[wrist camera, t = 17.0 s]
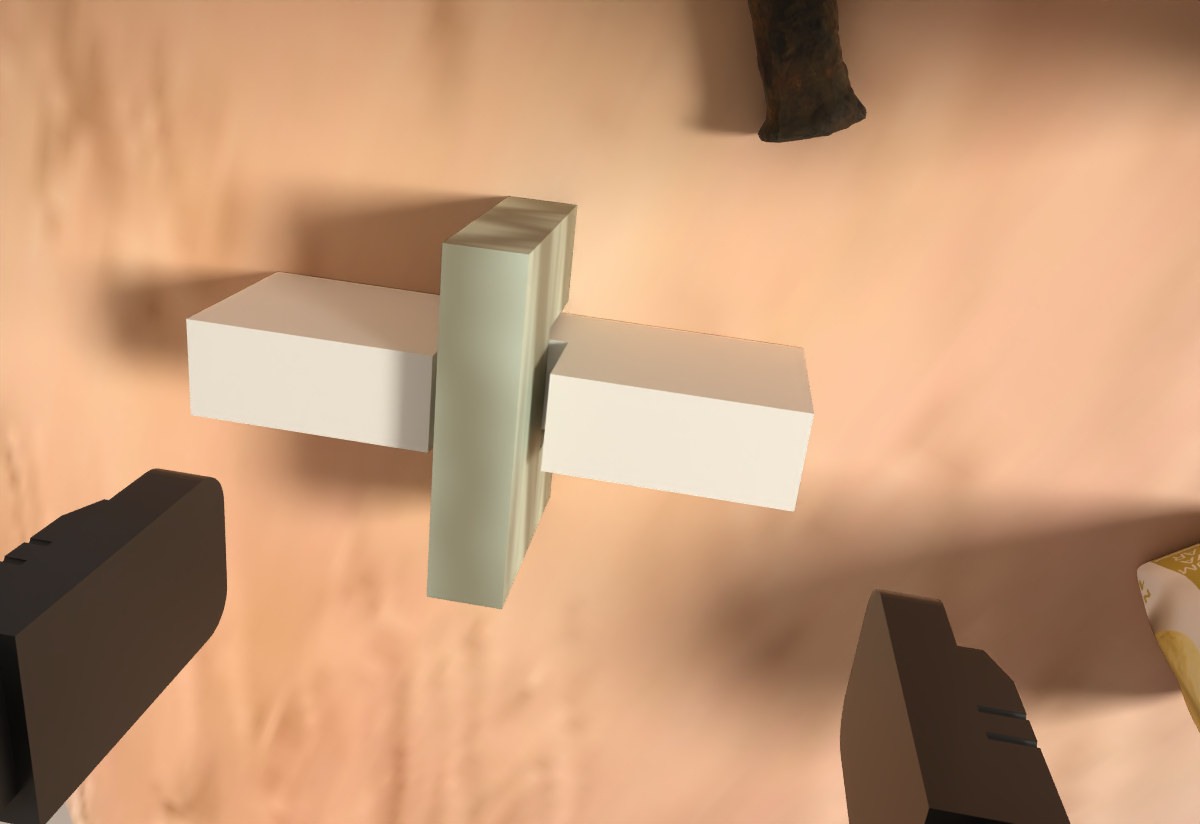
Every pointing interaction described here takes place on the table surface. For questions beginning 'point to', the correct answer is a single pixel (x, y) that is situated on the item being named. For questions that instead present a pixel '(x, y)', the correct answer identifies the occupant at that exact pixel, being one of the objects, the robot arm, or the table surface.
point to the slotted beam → (571, 400)
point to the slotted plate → (494, 394)
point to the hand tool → (802, 70)
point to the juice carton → (1176, 616)
